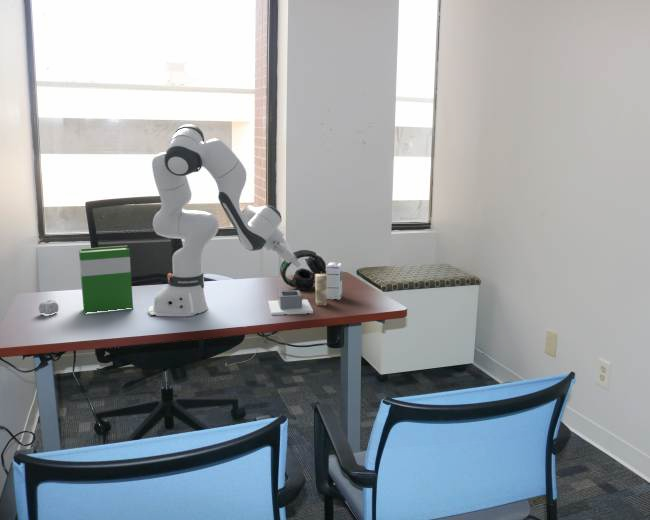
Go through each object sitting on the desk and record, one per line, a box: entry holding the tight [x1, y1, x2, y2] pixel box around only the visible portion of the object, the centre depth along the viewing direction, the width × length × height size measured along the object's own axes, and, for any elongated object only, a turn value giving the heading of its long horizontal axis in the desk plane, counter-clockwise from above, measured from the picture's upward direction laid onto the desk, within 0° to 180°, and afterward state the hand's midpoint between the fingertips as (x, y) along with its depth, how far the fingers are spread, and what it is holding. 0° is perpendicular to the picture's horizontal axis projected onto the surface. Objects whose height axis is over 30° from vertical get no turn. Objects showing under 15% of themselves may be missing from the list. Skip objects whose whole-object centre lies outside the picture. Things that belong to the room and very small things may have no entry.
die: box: [38, 299, 60, 314], centre depth 236 cm, size 5×5×5 cm
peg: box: [314, 274, 328, 306], centre depth 250 cm, size 4×4×12 cm
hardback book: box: [78, 245, 134, 314], centre depth 240 cm, size 18×7×24 cm, turn 114°
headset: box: [279, 249, 327, 291], centre depth 274 cm, size 18×14×29 cm
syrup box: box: [326, 262, 343, 301], centre depth 259 cm, size 6×6×14 cm
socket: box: [267, 289, 314, 316], centre depth 245 cm, size 16×16×6 cm
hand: (297, 263), depth 246 cm, fingers open, 8 cm apart
